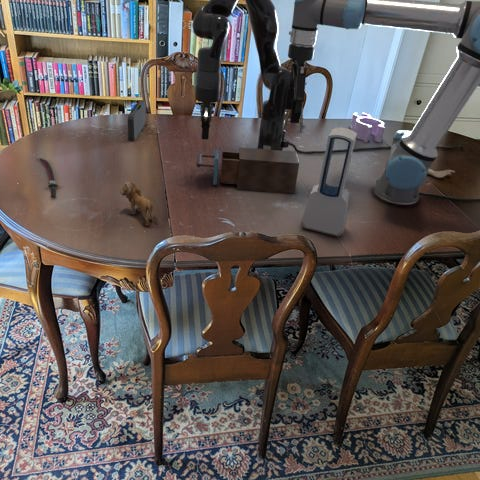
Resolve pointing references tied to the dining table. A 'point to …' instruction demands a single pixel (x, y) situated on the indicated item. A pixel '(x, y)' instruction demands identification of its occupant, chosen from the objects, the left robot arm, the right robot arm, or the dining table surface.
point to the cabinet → (267, 170)
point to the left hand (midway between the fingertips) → (205, 138)
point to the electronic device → (330, 192)
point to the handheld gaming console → (136, 120)
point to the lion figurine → (137, 201)
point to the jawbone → (440, 173)
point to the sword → (52, 181)
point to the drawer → (223, 166)
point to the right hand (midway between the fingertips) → (291, 115)
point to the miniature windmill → (300, 114)
